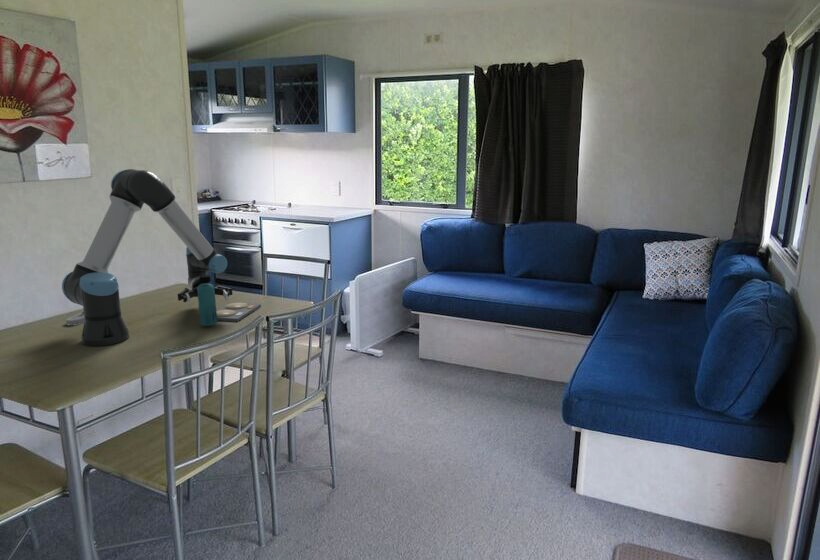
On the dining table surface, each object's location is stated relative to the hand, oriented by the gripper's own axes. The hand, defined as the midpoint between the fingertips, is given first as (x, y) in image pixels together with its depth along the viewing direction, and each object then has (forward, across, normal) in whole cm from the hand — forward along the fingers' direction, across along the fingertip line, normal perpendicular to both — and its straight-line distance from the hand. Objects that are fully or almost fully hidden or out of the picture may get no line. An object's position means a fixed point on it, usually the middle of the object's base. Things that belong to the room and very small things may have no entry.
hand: (208, 299), depth 225 cm
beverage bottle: (0, 0, -11) cm, 11 cm away
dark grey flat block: (-15, -11, -11) cm, 22 cm away
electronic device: (-31, +44, -11) cm, 55 cm away
